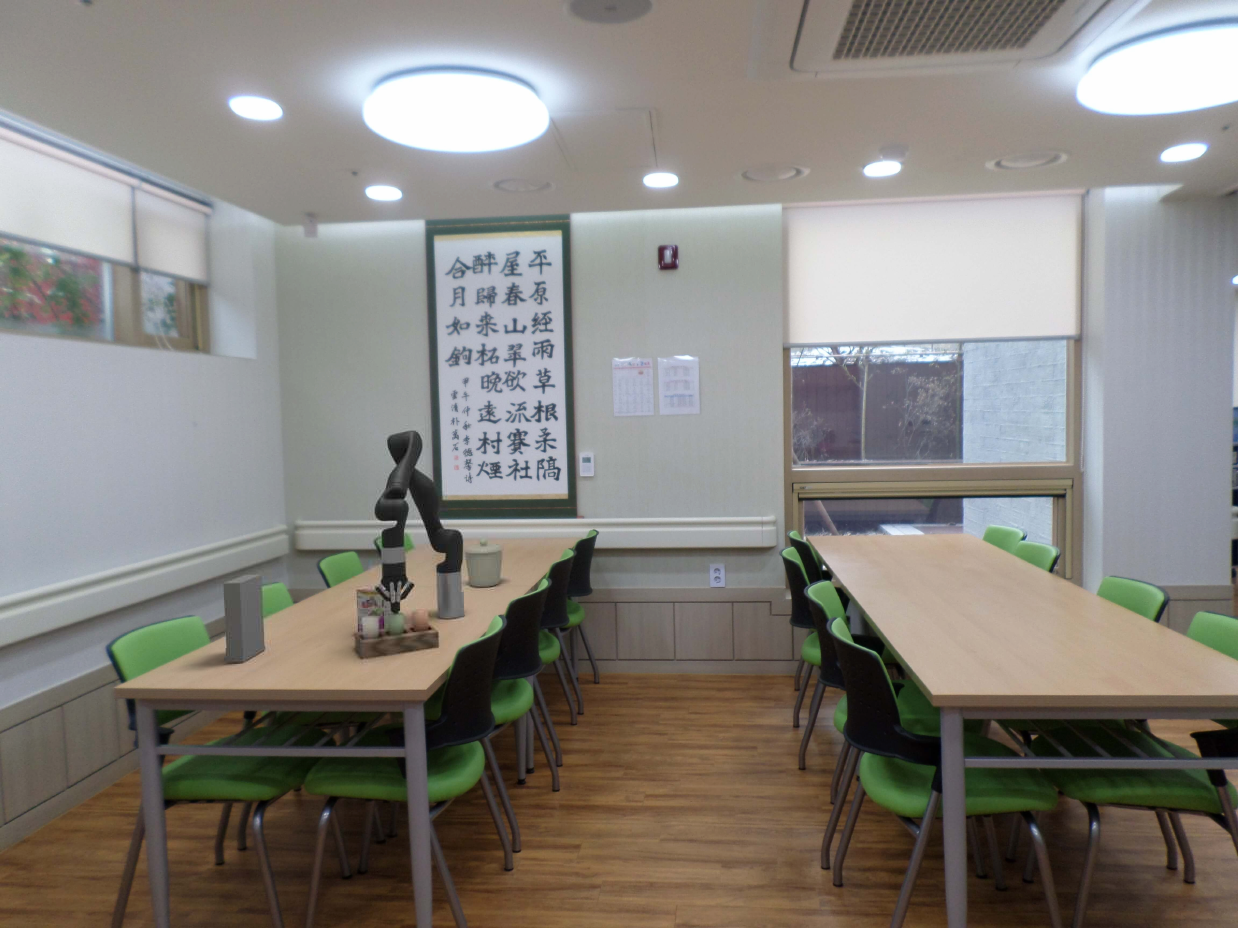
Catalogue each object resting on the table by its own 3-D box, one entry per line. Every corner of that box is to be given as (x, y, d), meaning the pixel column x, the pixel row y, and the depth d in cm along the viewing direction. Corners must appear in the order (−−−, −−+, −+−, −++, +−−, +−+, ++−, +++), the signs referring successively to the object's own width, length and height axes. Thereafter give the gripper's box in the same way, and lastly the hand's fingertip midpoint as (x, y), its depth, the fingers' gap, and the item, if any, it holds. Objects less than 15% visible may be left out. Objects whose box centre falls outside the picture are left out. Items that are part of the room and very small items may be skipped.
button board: (427, 637, 265) (427, 622, 265) (438, 646, 253) (438, 631, 252) (354, 647, 254) (354, 632, 253) (362, 658, 241) (362, 642, 241)
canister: (458, 589, 344) (456, 541, 343) (472, 580, 362) (471, 536, 361) (497, 589, 341) (496, 542, 340) (509, 581, 359) (508, 536, 358)
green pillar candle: (402, 633, 256) (401, 611, 256) (405, 636, 252) (405, 614, 252) (387, 635, 254) (386, 613, 254) (390, 638, 250) (389, 616, 249)
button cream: (377, 636, 253) (376, 614, 252) (380, 640, 248) (379, 617, 248) (361, 638, 250) (360, 616, 250) (364, 642, 246) (363, 620, 245)
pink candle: (426, 629, 260) (425, 608, 260) (430, 632, 256) (429, 611, 255) (411, 631, 258) (410, 610, 257) (415, 635, 253) (414, 613, 253)
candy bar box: (357, 635, 269) (355, 588, 268) (366, 632, 274) (364, 586, 273) (384, 637, 265) (382, 590, 264) (393, 634, 270) (391, 587, 269)
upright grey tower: (246, 650, 253) (243, 574, 252) (265, 650, 253) (262, 574, 252) (224, 663, 240) (220, 583, 238) (243, 663, 239) (239, 583, 238)
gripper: (411, 556, 258) (413, 608, 259) (370, 560, 252) (372, 613, 253) (416, 560, 252) (418, 612, 252) (375, 564, 245) (376, 618, 246)
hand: (395, 613), depth 253 cm, fingers closed
